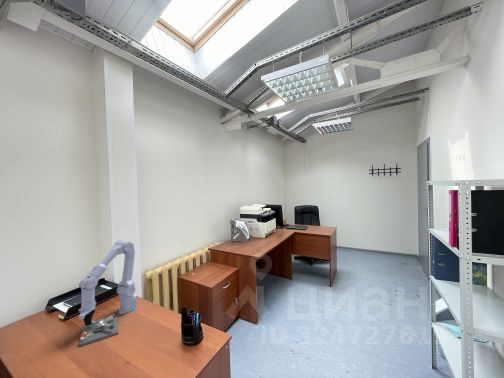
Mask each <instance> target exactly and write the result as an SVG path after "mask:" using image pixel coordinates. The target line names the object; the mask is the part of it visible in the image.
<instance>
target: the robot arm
mask: <svg viewBox="0 0 504 378" xmlns="http://www.w3.org/2000/svg"><path fill="white" fill-rule="evenodd" d="M122 254H123V255H124V258H123V259H124V261H123V269H122V277H121V279H122V280H121V281H120V282H118V286H117V289H116V293H117V294H118V297H119V307H118V315H123V314H126V313H127V314H128V313H129V312H133V311H137V309H138V307H137V305H138V302H137V300H138V299H137V293H136V287H135V282H134V280H133V273H134V266H135V265H134V263H135V255H136V250H135V244H134V243H133V242H132V241H130V240H129V241H127V240H122V239H121V240H120V239H119V240H117V241H115V243H114V244H113V245H112V246H111V249H110V250H109V252H108V253H107V254H106V256H105V257H104V258H103V260H102V261H101V262H100V263H97V264H96V265H94V266H93V269H92V270H91V271H90V272H89V273H88V274H87V275H86V277H83V278H82V279H81V280H80V282H79V283H78V286H79V288H80V289H81V297H80V298H81V301H80V302H81V303H80V304H81V306H80V308H79V309H78V312H79V313H80V314H79V315H78V319H79V320H83V322H84V326H89V325H90V324H91V321H92V320H93V317H94V314H95V312H96V305H97V301H96V298H95V297H96V292H95V291H96V289H95V288H96V286H97V285H98V283H99V279H100V278H101V277H102V276H103V275H104V273H105V272H106V271H107V267H108V265H109V264H110V263H111V262H112V261H113V260H114V259H115V258H116V257H117V256H119V255H122Z"/></svg>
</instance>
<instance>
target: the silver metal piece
mask: <svg viewBox="0 0 504 378" xmlns="http://www.w3.org/2000/svg"><path fill="white" fill-rule="evenodd" d="M114 317H117V315H116V313H112V314H110V315H109V316H108V317H106V318H100V319H98V320H93V319H92V321H91V324H90V325H94V326H93V327H92V328H90V329H89V330H87V331H85V332H83V333H82V332H81V334H82V337H86V336H87V335H88V334H90V333H91V332H99V331H101V330H103V329H105V328H108V329H113V328H114V325H113V324H107V323H106V322H108V321H109V320H111V319H112V318H114Z"/></svg>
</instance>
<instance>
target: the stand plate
mask: <svg viewBox="0 0 504 378" xmlns="http://www.w3.org/2000/svg"><path fill="white" fill-rule="evenodd" d="M118 321H119V319H118V316H115V317H114V318H112V319H111V320H109V321H108V322H106V323H107V324H113V325H114V328H113V329H108V328H105V329H103V330H101V331H99V332H91V333H90V334H88V335H87V336H86V337H82V333H83V332H85V331H87V330H89V329H90V328H92V327H93V326H94V325H89V326H85V325H84V326H82V329H81V335H80V339H79V343H78V346H79V348H80V347H83V346H86V345H90V344H92V343H95V342H99V341H101V340H104V339H107V338H111V337H113V336H117V335H119V325H118V324H119V322H118Z"/></svg>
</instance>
